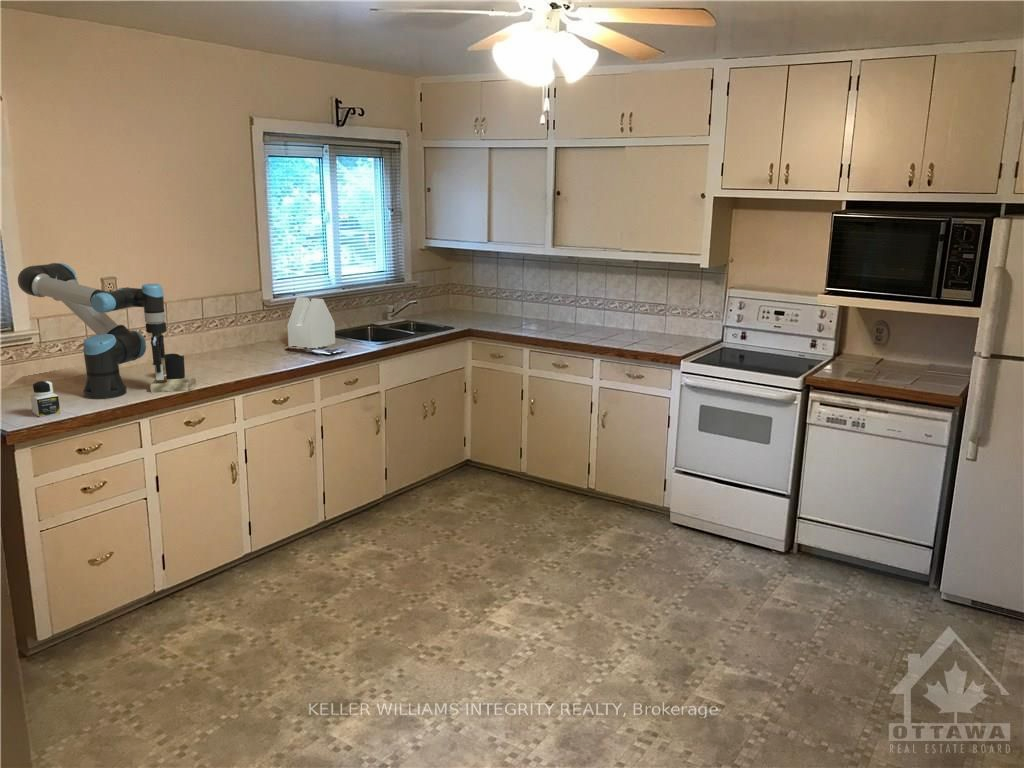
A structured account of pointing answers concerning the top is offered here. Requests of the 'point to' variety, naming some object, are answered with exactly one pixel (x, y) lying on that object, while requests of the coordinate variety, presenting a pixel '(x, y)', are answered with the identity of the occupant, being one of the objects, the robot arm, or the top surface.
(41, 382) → the medicine bottle
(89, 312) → the robot arm
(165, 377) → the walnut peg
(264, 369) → the top surface
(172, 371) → the pen holder
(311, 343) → the white notched tapered block
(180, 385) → the mottled green flat block
